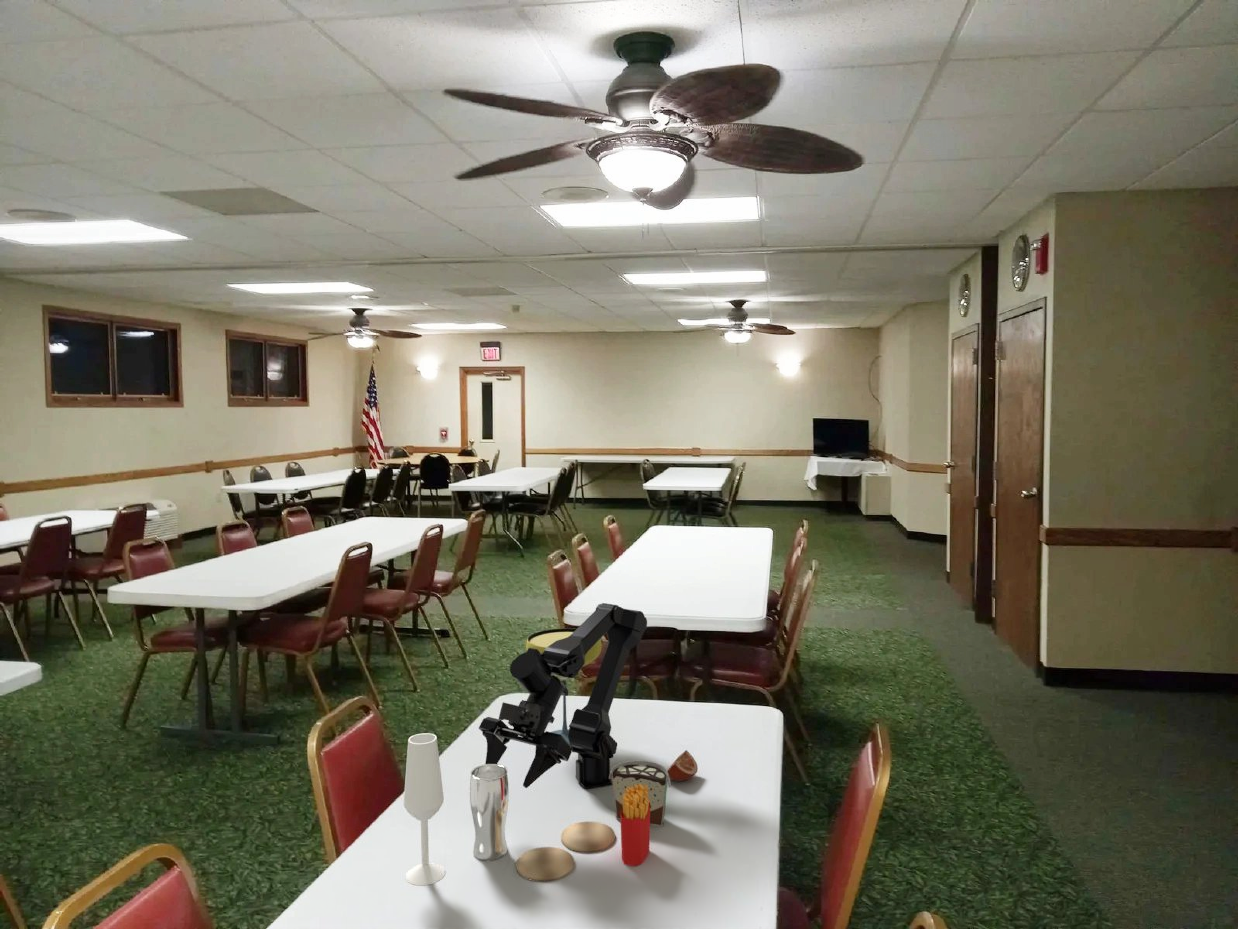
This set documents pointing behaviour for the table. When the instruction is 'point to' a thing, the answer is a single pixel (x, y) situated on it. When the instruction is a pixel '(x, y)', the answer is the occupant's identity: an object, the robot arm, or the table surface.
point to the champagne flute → (423, 799)
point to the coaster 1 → (545, 864)
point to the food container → (644, 775)
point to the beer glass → (489, 810)
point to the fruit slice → (683, 767)
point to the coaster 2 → (587, 836)
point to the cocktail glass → (549, 637)
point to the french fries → (635, 825)
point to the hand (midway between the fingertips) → (505, 781)
